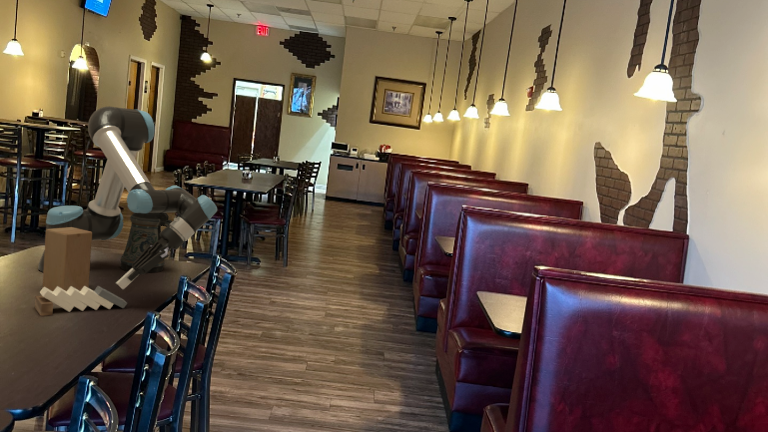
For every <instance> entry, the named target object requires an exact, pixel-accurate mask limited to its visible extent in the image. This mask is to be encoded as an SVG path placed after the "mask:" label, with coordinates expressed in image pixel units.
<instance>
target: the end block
mask: <svg viewBox="0 0 768 432" xmlns="http://www.w3.org/2000/svg"><path fill="white" fill-rule="evenodd" d="M34 308H35V310H36V311H37V313H38V314H39V315H40V317H44V316H46V317H47V316H53V312H54V311H53V309H54V303H53V302H52V301H50V300H48V299H46V298H45V297H43V296H42V295H35V298H34Z"/></svg>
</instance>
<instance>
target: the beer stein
mask: <svg viewBox="0 0 768 432" xmlns="http://www.w3.org/2000/svg"><path fill="white" fill-rule="evenodd" d="M168 214H169V213H168V212H166V213H162V212H161V213H134V212H132V214H131V215H130V216H129V217H130V218H129V220H130V222H131V225H130V229H129V234H128V238H127V241H126V245H125V248H124V251H123V254H122V255H121V257H120V269H122V270H123V271H126V272H128V271H129V270H130V269H131V268H132V263H133V262H134V261H135V260H136V259H137V258H138V257H139V256H140V255H141V254H142V253H143V251H144V250H145V249H146V248H147V247H148V245H149V244H150V243H153V244H154V243H155V242H157V241H158V240H160V239H161V236H160V232H161V231H162V227H165V228H166V227H170V226H169V225H170V223H172V222H173V221H174V220H173V221H172V220H171V219H169V218H170V217H169V215H168ZM165 263H166V261H165V259H164V260H162V261H161V262H160V263H158V264H157V265H156V266H154V267H153V268H152V269H151V270H149V271H148V272H147V273H146V274H154V273H158V272H161V271H163V270H164V266H165Z"/></svg>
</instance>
